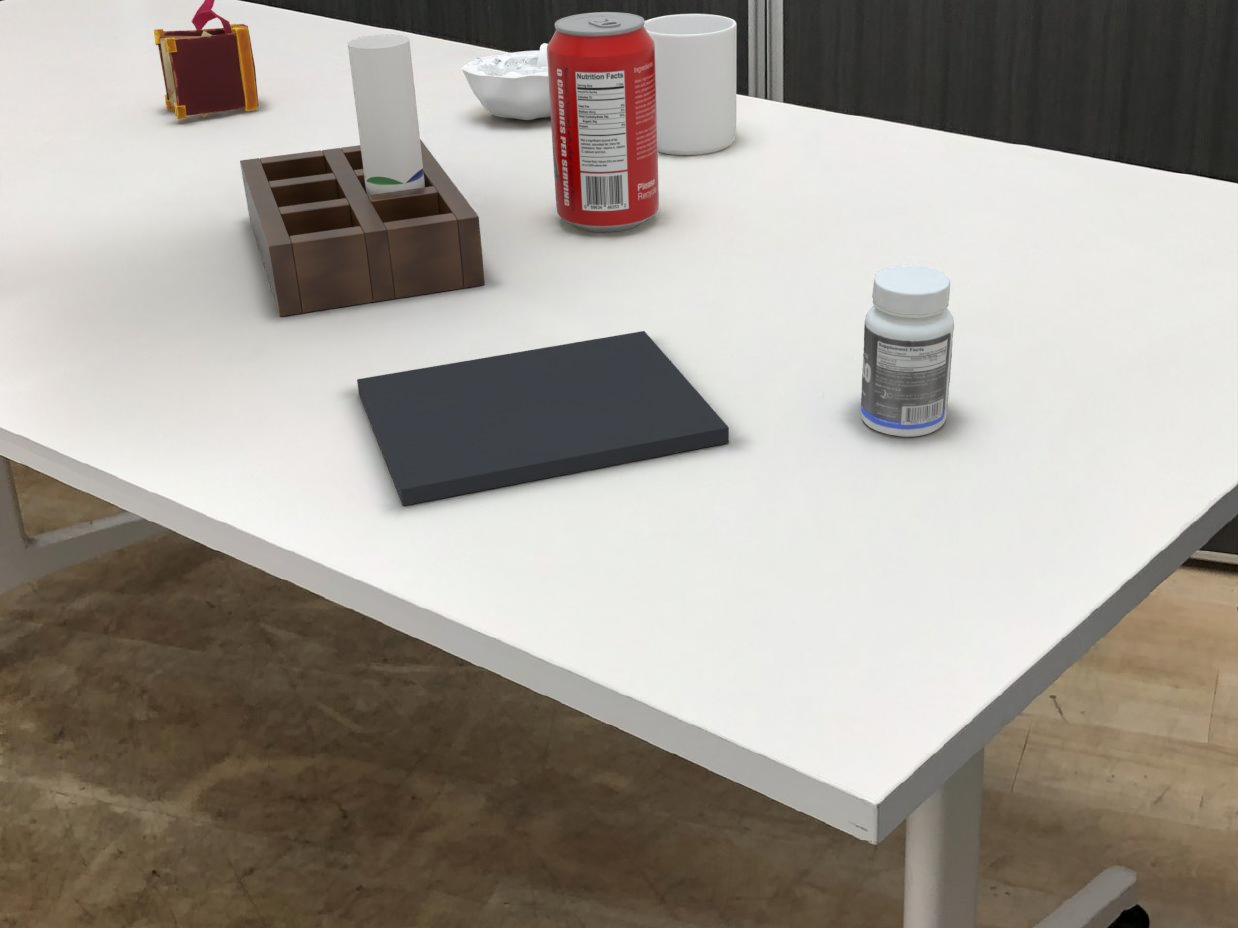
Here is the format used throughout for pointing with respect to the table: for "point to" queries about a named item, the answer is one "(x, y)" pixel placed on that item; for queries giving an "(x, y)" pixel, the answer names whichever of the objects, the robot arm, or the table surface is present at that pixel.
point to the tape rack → (357, 232)
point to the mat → (534, 416)
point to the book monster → (207, 67)
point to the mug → (694, 82)
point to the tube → (386, 113)
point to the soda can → (603, 121)
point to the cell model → (512, 83)
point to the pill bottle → (907, 351)
